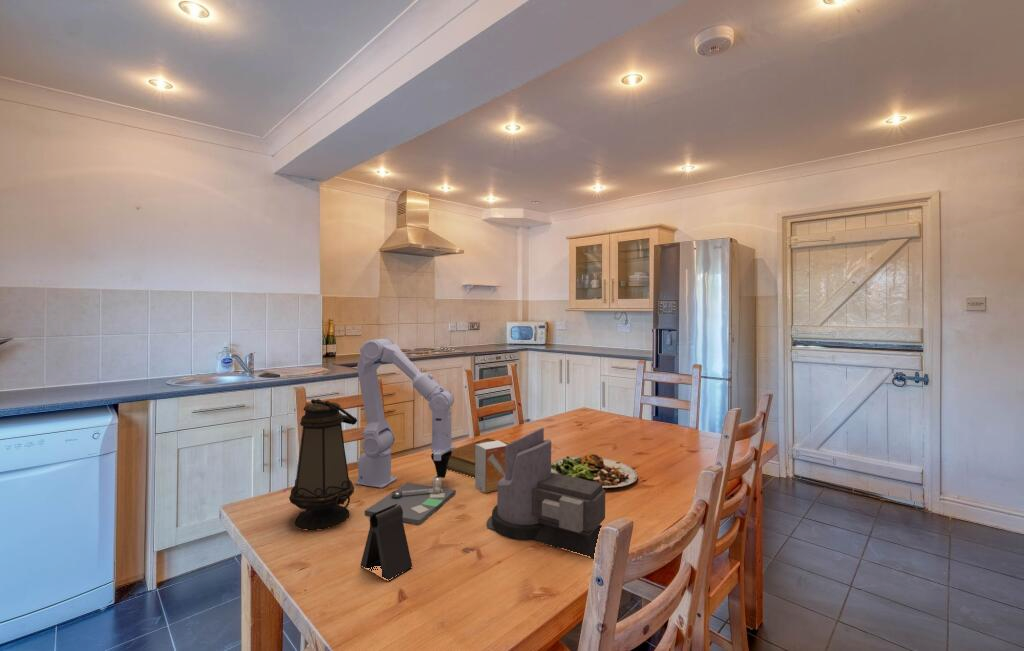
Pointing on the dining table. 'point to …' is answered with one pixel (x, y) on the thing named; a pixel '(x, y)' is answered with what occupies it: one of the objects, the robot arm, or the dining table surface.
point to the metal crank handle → (435, 489)
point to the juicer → (546, 500)
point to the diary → (465, 458)
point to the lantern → (322, 467)
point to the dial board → (414, 503)
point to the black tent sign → (387, 543)
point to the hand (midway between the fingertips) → (441, 477)
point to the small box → (489, 465)
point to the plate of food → (595, 470)
